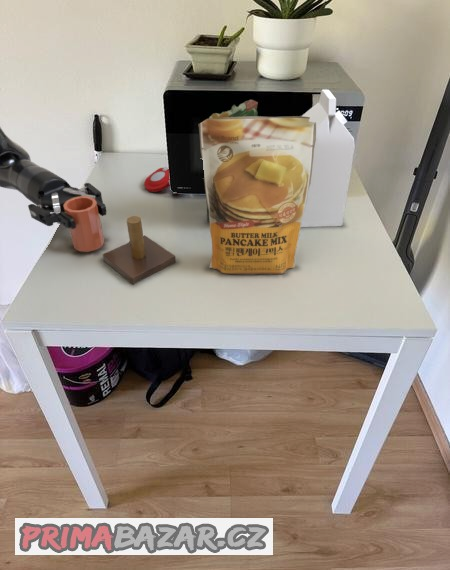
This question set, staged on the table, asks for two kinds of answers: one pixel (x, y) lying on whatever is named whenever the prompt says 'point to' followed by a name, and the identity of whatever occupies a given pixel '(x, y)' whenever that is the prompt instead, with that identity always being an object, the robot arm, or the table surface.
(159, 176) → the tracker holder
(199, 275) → the table surface
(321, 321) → the table surface
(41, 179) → the robot arm
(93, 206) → the faceted terracotta cup
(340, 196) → the milk
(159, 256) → the ring stand
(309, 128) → the pancake mix bag
